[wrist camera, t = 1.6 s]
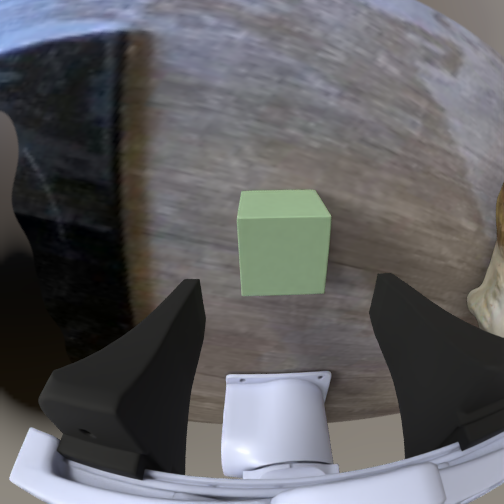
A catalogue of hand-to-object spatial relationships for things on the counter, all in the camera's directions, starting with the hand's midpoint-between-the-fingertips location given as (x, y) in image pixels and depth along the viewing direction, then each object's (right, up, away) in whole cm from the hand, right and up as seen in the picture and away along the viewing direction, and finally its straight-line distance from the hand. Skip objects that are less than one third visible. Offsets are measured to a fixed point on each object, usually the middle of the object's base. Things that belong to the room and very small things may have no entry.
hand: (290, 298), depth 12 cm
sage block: (0, +4, +7) cm, 8 cm away
